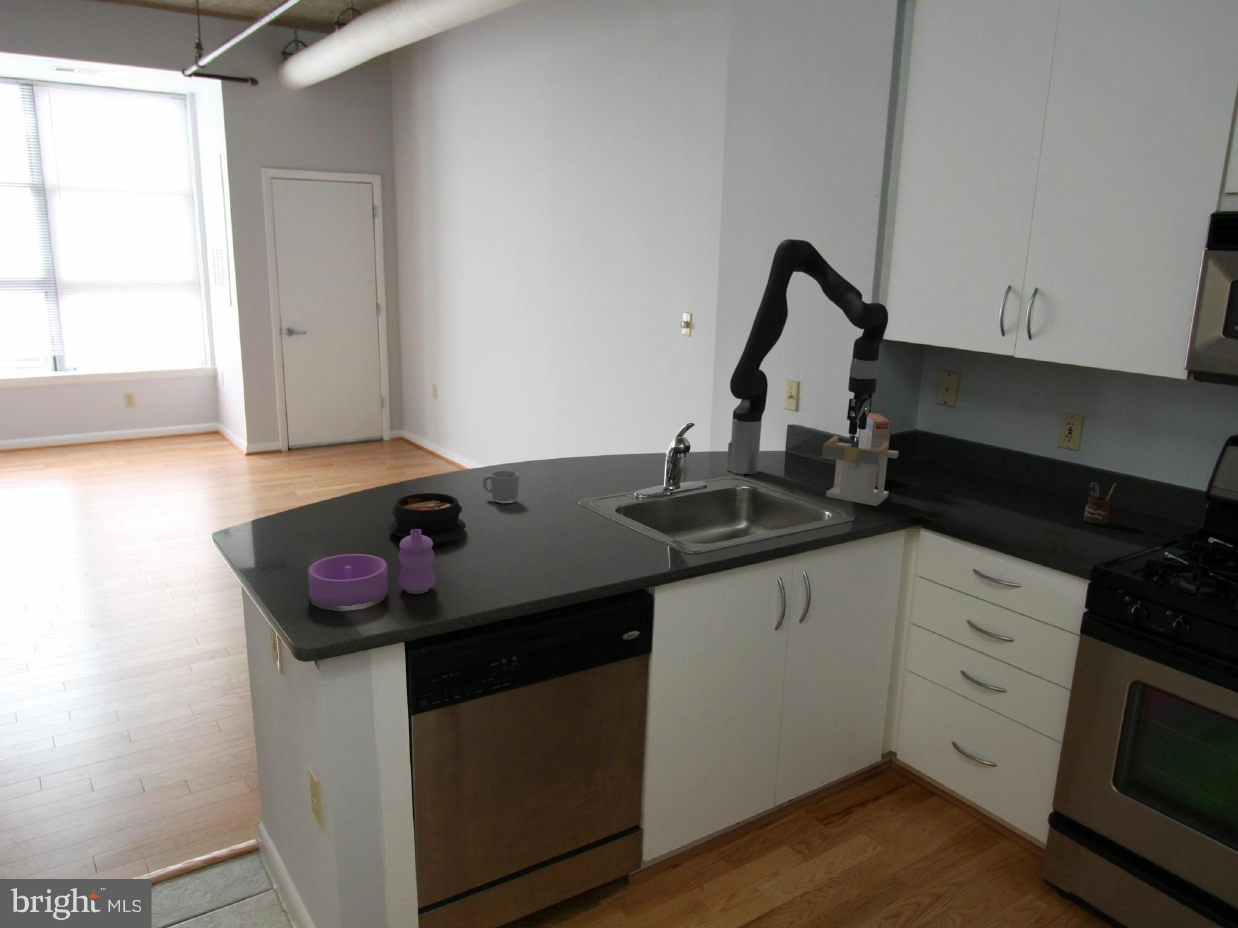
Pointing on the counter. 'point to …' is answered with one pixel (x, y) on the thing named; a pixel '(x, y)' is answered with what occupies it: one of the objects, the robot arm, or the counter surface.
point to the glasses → (852, 453)
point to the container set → (371, 573)
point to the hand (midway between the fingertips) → (857, 431)
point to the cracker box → (875, 435)
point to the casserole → (428, 517)
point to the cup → (503, 485)
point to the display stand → (860, 480)
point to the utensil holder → (1097, 508)
